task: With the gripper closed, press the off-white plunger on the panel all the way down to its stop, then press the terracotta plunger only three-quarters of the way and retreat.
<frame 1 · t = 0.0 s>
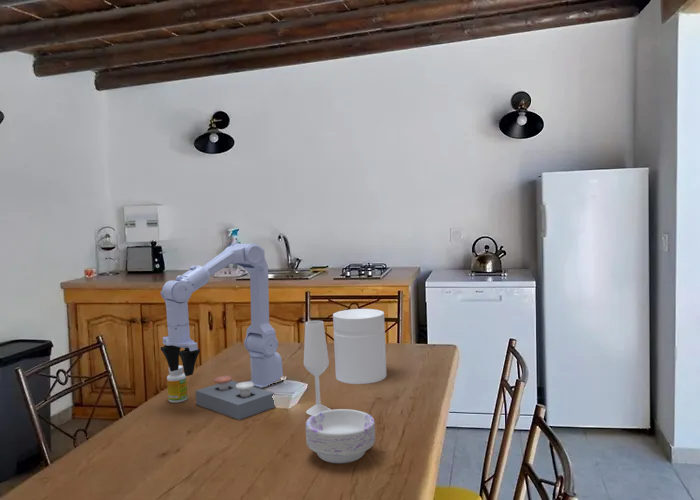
hand: (181, 372, 170), 10 cm above the table, tool pointing down, fingers open, 7 cm apart
canister: (361, 376, 194), on the table
supplement bottle: (178, 400, 178), on the table
champagne flute: (318, 411, 164), on the table
grey plunger: (245, 391, 167), point 5 cm above the table, slide at 0.0 cm
panel: (235, 405, 171), on the table
paper bowls: (341, 455, 136), on the table
red plunger: (223, 384, 174), point 5 cm above the table, slide at 0.0 cm
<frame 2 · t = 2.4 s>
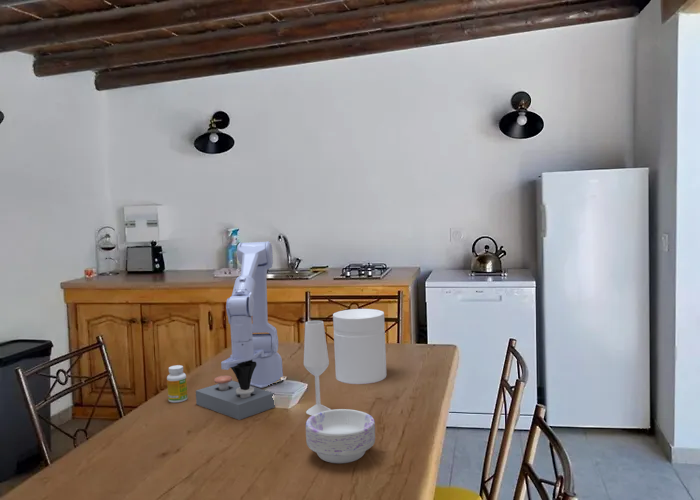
hand: (244, 389, 167), 6 cm above the table, tool pointing down, fingers closed, pressing on grey plunger
grey plunger: (245, 396, 167), point 4 cm above the table, slide at 1.2 cm, touching gripper
everything else where it was.
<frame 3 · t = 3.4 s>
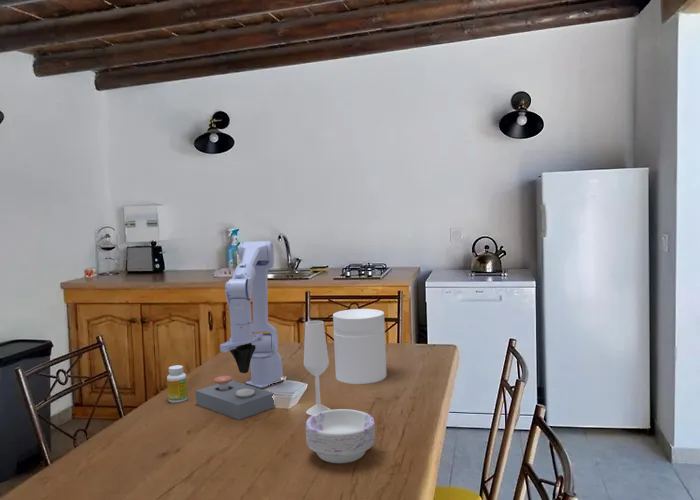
hand: (244, 372, 167), 10 cm above the table, tool pointing down, fingers closed
grey plunger: (245, 398, 167), point 3 cm above the table, slide at 1.9 cm
everything else where it was.
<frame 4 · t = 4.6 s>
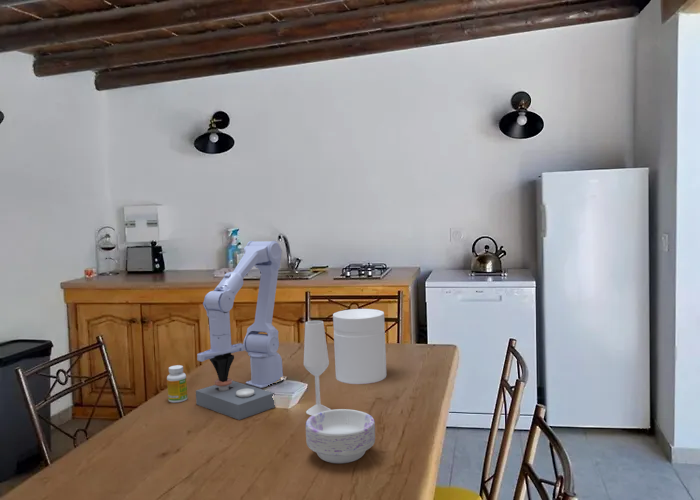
hand: (223, 380, 174), 6 cm above the table, tool pointing down, fingers closed, pressing on red plunger
red plunger: (223, 387, 174), point 4 cm above the table, slide at 0.8 cm, touching gripper
everything else where it was.
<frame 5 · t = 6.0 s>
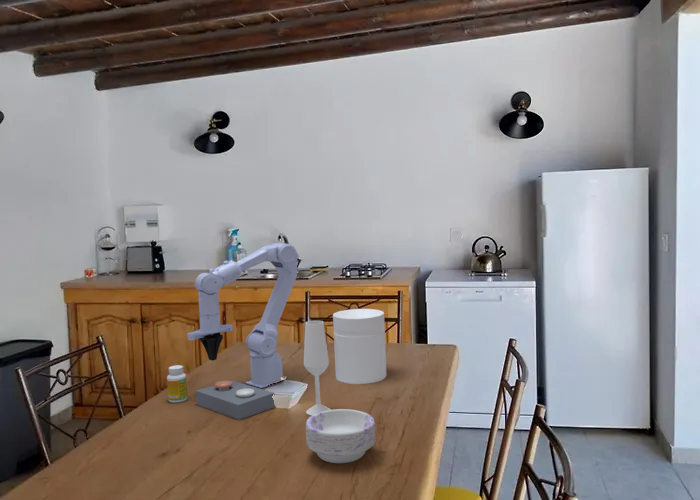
hand: (212, 359, 181), 10 cm above the table, tool pointing down, fingers closed
red plunger: (223, 389, 174), point 4 cm above the table, slide at 1.4 cm
everything else where it was.
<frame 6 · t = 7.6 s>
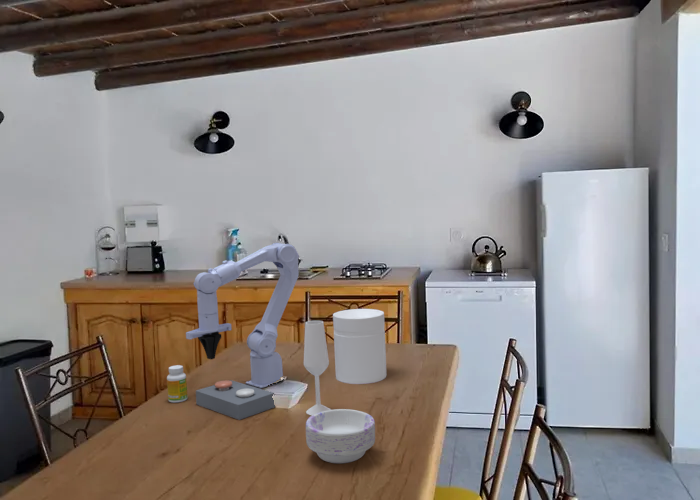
hand: (211, 358, 182), 10 cm above the table, tool pointing down, fingers closed
nothing on the table moved.
at the end: grey plunger slide at 1.9 cm; red plunger slide at 1.4 cm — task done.
